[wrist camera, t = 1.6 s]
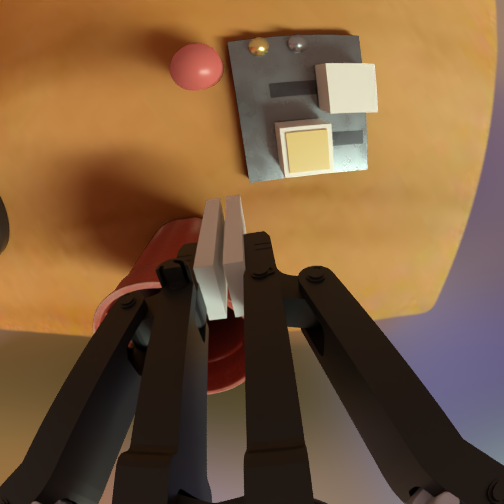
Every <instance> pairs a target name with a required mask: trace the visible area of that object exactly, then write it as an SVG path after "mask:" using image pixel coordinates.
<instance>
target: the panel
mask: <svg viewBox="0 0 504 504" xmlns="http://www.w3.org/2000/svg"><path fill="white" fill-rule="evenodd" d="M227 43H228V49H229V55H230V61H231V67H232V73H233V80H234V86H235V92H236V98H237V105H238V111H239V117H240V124H241V130H242V137H243V143H244V149H245V156H246V162H247V169H248V175H249V182H250V183H253V182H259V181H266V180H274V179H281V178H285V177H284V175H283V173H282V171H281V169H280V166H279V157H278V149H277V141H276V132H275V124H274V123H276V122H285V121H295V120H306V119H318V118H321V119H323V120H325V121H327V122H329V123H331V125H332V140H333V157H334V172H343V171H354V170H365V169H367V126H366V112H361V113H335V114H330V113H327V112H325V111H322V110H320V109H319V98H318V89H317V80H316V71H315V65H317V64H324V63H362V59H361V50H360V42H359V36H354V35H299V34H296V35H293V36H277V37H266V38H261V37H256V38H254V39H247V40H239V41H232V42H227Z"/></svg>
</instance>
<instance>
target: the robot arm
mask: <svg viewBox="0 0 504 504" xmlns="http://www.w3.org/2000/svg"><path fill="white" fill-rule="evenodd" d="M8 240H9V222H8V217H7V213H6V210H5V207H4V205H3V202H2V200H1V198H0V254H1V253H2V252H3V251H4V249H5V248H6V246H7V243H8ZM155 271H156V274H157V276H158V279H159V282H160V284H161V287H162V288H161V292H160V293H158V294H156V295H154V296H151V297H148V298H145V299H144V297H143V295H142V294H141V293H139V292H129V293H126V294H124V295H122V296H121V297H119V298H118V299H117V300H116V301H115V303H114V304H113V306H112V307H111V309H110V310H109V312H108V313H107V315H106V316H105V318H104V319H103V321H102V322H101V324H100V325H99V327H98V329H97V330H96V332H95V333H94V335H93V336H92V338H91V340H90V341H89V343H88V344H87V346H86V347H85V349H84V351H83V352H82V354H81V356H80V357H79V359H78V360H77V362H76V364H75V365H74V367H73V369H72V370H71V372H70V374H69V375H68V377H67V379H66V381H65V382H64V384H63V386H62V387H61V389H60V391H59V393H58V394H57V396H56V398H55V400H54V402H53V403H52V405H51V407H50V409H49V411H48V413H47V414H46V416H45V418H44V420H43V422H42V424H41V426H40V428H39V430H38V432H37V434H36V436H35V438H34V440H33V442H32V444H31V446H30V448H29V450H28V452H27V454H26V456H25V458H24V460H23V462H22V464H20V466H19V467H18V468H17V469H16V470H15V471H14V472H13V473H12V474H11V475H10V476H9V478H8V479H7V480H6V481H5V482H4V483H3V484H2V485H1V486H0V504H98V503H99V501H100V499H101V497H102V494H103V492H104V489H105V487H106V484H107V482H108V479H109V476H110V474H111V471H112V469H113V466H114V464H115V461H116V459H117V456H118V453H119V451H120V449H121V446H122V444H123V441H124V439H125V437H126V434H127V432H128V429H129V427H130V424H131V422H132V420H133V417H134V415H135V418H134V425H133V432H132V438H131V445H130V448H129V450H128V451H126V452H123V453H121V455H120V456H119V457H118V461H117V464H116V472H115V481H114V489H113V498H112V504H327V503H325V502H322V501H320V500H317V499H314V498H313V491H312V483H311V475H310V468H309V461H308V454H307V448H306V445H305V441H304V434H303V426H302V419H301V413H300V406H299V399H298V392H297V385H296V379H295V372H294V366H293V359H292V353H291V346H290V340H289V334H288V328H287V326H288V327H298V328H301V330H302V333H303V334H304V336H305V338H306V339H307V341H308V343H309V345H310V347H311V348H312V350H313V352H314V354H315V355H316V357H317V359H318V361H319V363H320V364H321V366H322V368H323V369H324V371H325V373H326V375H327V377H328V378H329V380H330V382H331V384H332V385H333V387H334V389H335V391H336V393H337V394H338V396H339V398H340V400H341V401H342V403H343V405H344V407H345V408H346V410H347V412H348V414H349V416H350V417H351V419H352V421H353V423H354V425H355V426H356V428H357V430H358V431H359V433H360V435H361V437H362V438H363V440H364V442H365V444H366V446H367V448H368V449H369V451H370V453H371V455H372V456H373V458H374V460H375V462H376V464H377V465H378V467H379V469H380V471H381V473H382V474H383V476H384V478H385V479H386V481H387V482H388V484H389V486H390V487H391V489H392V490H393V491H394V493H395V494H396V495H397V496H398V497H399V498H400V499H401V500H402V501H403V502H404V503H405V504H504V466H503V465H502V464H500V463H499V462H497V461H496V460H494V459H493V458H491V457H489V456H488V455H487V454H485V453H483V452H482V451H480V450H479V449H477V448H476V447H474V446H473V445H471V444H470V443H468V442H467V441H465V440H464V439H463V438H462V437H461V435H460V434H459V433H458V431H457V430H456V429H455V427H454V425H453V424H452V423H451V422H450V420H449V419H448V417H447V416H446V414H445V413H444V412H443V410H442V409H441V407H440V406H439V405H438V403H437V402H436V401H435V399H434V398H433V397H432V395H431V394H430V393H429V391H428V390H427V389H426V387H425V386H424V385H423V383H422V382H421V381H420V380H419V378H418V377H417V375H416V374H415V373H414V372H413V370H412V369H411V368H410V366H409V365H408V364H407V362H406V361H405V360H404V359H403V357H402V356H401V355H400V353H399V352H398V351H397V350H396V348H395V347H394V346H393V345H392V343H391V342H390V341H389V340H388V338H387V337H386V336H385V335H384V333H383V332H382V331H381V330H380V328H379V327H378V326H377V325H376V323H375V322H374V321H373V320H372V318H371V317H370V316H369V315H368V314H367V312H366V311H365V310H364V309H363V308H362V306H361V305H360V304H359V303H358V301H357V300H356V299H355V298H354V297H353V295H352V294H351V293H350V292H349V291H348V290H347V288H346V287H345V286H344V285H343V284H342V282H341V281H340V280H339V279H338V278H337V277H336V275H335V274H334V273H333V272H332V271H331V270H330V269H328V268H326V267H323V266H311V267H307V268H305V269H303V270H302V271H301V272H300V273H299V275H298V276H292V275H287V274H283V273H282V272H280V271H279V270H278V269H277V267H276V264H275V259H274V254H273V249H272V245H271V240H270V236H269V235H268V234H267V233H266V232H264V231H262V232H256V233H249V234H246V228H245V222H244V216H243V210H242V204H241V198H240V195H234V196H228V197H226V211H225V221H224V216H223V211H222V206H221V201H220V198H216V199H210V200H206V205H205V210H204V215H203V219H202V224H201V229H200V234H199V240H198V242H195V243H188V244H184V245H183V246H182V247H181V248H180V249H179V250H178V254H177V258H173V259H169V260H166V261H164V262H162V263H161V264H160V265H159V266H158V267H157V268H156V270H155ZM227 284H228V289H229V293H230V297H231V301H232V305H233V309H234V313H235V317H241V316H244V346H245V390H246V391H245V392H246V428H247V429H246V430H247V450H246V452H245V455H244V496H242V497H239V498H235V499H231V500H227V501H223V502H219V503H212V496H211V489H210V486H209V483H208V480H207V439H206V438H207V437H206V436H207V434H206V433H207V370H208V338H209V328H208V324H207V321H206V314H208V318H209V320H217V319H225V318H227ZM130 341H132V344H131V345H130V347H128V345H129V343H130Z"/></svg>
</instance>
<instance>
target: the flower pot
mask: <svg viewBox="0 0 504 504" xmlns="http://www.w3.org/2000/svg"><path fill="white" fill-rule="evenodd" d="M201 224H202V219H201V218H195V217H193V218H188V219H180V220H178V219H176V220H173V221H171V222H168V223H167V224H165V225H163V226H162V227H161V228H160V229H159V230H158V231H157V232H156V233H155V235H154V236H153V238H152V239H151V241H150V242H149V244H148V245H147V247H146V248H145V250H144V251H143V253H142V254H141V256H140V257H139V259H138V260H137V262H136V264H135V265H134V267H133V268H132V270H131V271H130V273H129V274H128V276H126V277H125V278H124V279H123V280H122V281H121V282H120V283H119V285H118V286H117V288H116V289H115V291H113V292H112V293H111V294H109V295H108V296H107V297H106V298H105V299H104V300H103V301H102V302H101V303H100V305H99V306H98V308H97V310H96V312H95V315H94V319H93V334H94V333H95V332H96V330H97V329H98V327H99V325H100V324H101V322H102V321H103V319H104V318H105V316H106V315H107V313H108V312H109V310H110V309H111V307H112V306H113V304H114V303H115V301H116V300H117V299H118V298H119V297H121V296H122V295H124V294H126V293H129V292H139V293H141V294H142V295H143V297H144V299H145V298H148V297H151V296H154V295H156V294H158V293H160V292H161V288H162V287H161V284H160V282H159V279H158V276H157V274H156V271H155V270H156V268H157V267H158V266H159V265H160V264H161V263H162V262H164V261H166V260H169V259H173V258H177V254H178V250H179V249H180V248H181V247H182V246H183V245H184V244H188V243H195V242H198V240H199V234H200V229H201ZM206 321H207V324H208V328H209V338H208V370H207V394H214V393H219V392H222V391H226V390H229V389H232V388H234V387H236V386H237V385H239V384H241V383H243V382H244V381H245V346H244V316H241V317H235V313H234V309H233V305H232V301H231V297H230V293H229V289H228V284H227V318H225V319H217V320H209V318H208V314H206ZM131 344H132V341H130V343H129V345H128V347H130V345H131Z"/></svg>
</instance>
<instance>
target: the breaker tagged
mask: <svg viewBox="0 0 504 504" xmlns="http://www.w3.org/2000/svg"><path fill="white" fill-rule="evenodd" d="M274 124H275V132H276V141H277V149H278V157H279V166H280V169H281V171H282V173H283V175H284V177H285V178H290V177H298V176H306V175H315V174H324V173H334V157H333V140H332V125H331V123H329V122H327V121H325V120H323V119H321V118H318V119H306V120H295V121H285V122H276V123H274Z"/></svg>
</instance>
